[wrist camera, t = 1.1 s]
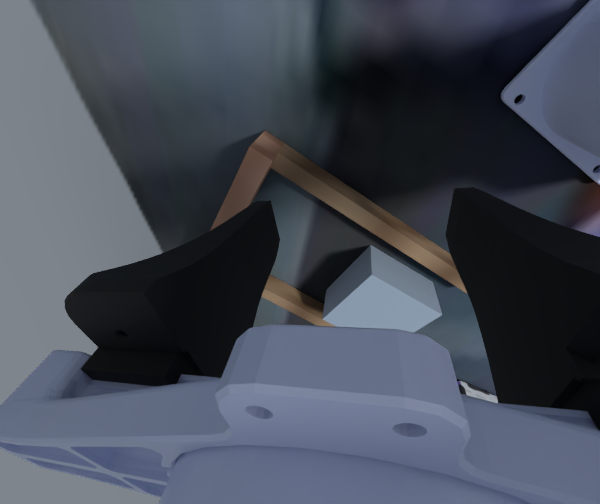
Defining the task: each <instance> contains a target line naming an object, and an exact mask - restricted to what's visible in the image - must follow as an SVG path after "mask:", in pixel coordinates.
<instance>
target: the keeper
mask: <svg viewBox="0 0 600 504" xmlns="http://www.w3.org/2000/svg"><path fill="white" fill-rule="evenodd" d="M441 315H442V312H441V309H440V305H439V302H438V298H437V295H436V292H435V288H434V285H433V282H432V281H430V280H428V279H427V278H425V277H423V276H422V275H420V274H418V273H416V272H415V271H413V270H411V269H410V268H408V267H406V266H405V265H403V264H401V263H400V262H398V261H396V260H395V259H393V258H391V257H390V256H388V255H386V254H385V253H383V252H381V251H380V250H378V249H376V248H375V247H373V246H371V245H370V246H369V247H368V248H367V249H366V250H365V251H364V252H363V253H362V254H361V255H360V256H359V257H358V258H357V259H356V260H355V261H354V262H353V263H352V264H351V265H350V266H349V267H348V268H347V269H346V270H345V271H344V272H343V273H342V274H341V275H340V276H339V277H338V278H337V279H336V280H335V281H334V282H333V283H332V284H331V285H330V286H329V287H328V289H327V290H326V296H325V303H324V311H323V318H322V319H323V320H325V321H326V322H328V323H330V324H332V325H334V326H336V327H356V328H381V329H398V330H403V331H408V332H413V333H414V332H415V331H417V330H419V329H420V328H422V327H423V326H425V325H427V324H428V323H430V322H432V321H433V320H435V319H436V318H438V317H440V316H441Z"/></svg>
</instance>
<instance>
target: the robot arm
mask: <svg viewBox="0 0 600 504" xmlns="http://www.w3.org/2000/svg"><path fill="white" fill-rule="evenodd" d="M520 94H522V99H521V100H520V101H519V102H518V103H514V100H515V98H516V97H517V96H518V95H520ZM501 100H502V101H503V102H504V103H505V104H506V105H507V106H509V107H510V108H511V109H512V110H513V111H514V112H515V113H517V114H518V115H519V116H520V117H521V118H522V119H524V120H525V121H526V122H527V123H528V124H529V125H530V126H532V127H533V128H534V129H535V130H536V131H537V132H539V133H540V134H541V135H542V136H543V137H544V138H545V139H547V140H548V141H549V142H550V143H551V144H552V145H553V146H555V147H556V148H557V149H558V150H559V151H560V152H562V153H563V154H564V155H565V156H566V157H567V158H568V159H570V160H571V161H572V162H573V163H574V164H575V165H576V166H578V167H579V168H580V169H581V170H582V171H583V172H585V173H586V174H587V175H588V176H589V177H590V178H591V179H593V180H594V181H595V182H596V183H598V184H600V166H599V167H598V168H597V169H596V170H594V171H593V169H594V168H595V167H596V166H598V165H600V0H590V1H589V2H588V3H587V4H586V5H585V6H584V7H583V8H582V9H581V10H580V11H579V12H578V13H577V14H576V15H575V16H574V17H573V18H572V19H571V20H570V21H569V22H568V23H567V24H566V25H565V26H564V27H563V28H562V29H561V30H560V31H559V33H558V34H557V35H556V36H555V37H554V38H553V39H552V40H551V41H550V42H549V43H548V44H547V45H546V46H545V47H544V48H543V49H542V50H541V51H540V52H539V53H538V54H537V55H536V56H535V57H534V58H533V59H532V60H531V61H530V62H529V63H528V64H527V65H526V66H525V67H524V68H523V69H522V70H521V71H520V72H519V74H518V75H517V76H516V77H515V78H514V79H513V80H512V81H511V82H510V83H509V84H508V85H507V86H506V87H505V88H504V89H503V91H502V93H501ZM446 238H447V242H448V246H449V250H450V254H451V257H452V259H453V262H454V264H455V266H456V269H457V271H458V273H459V275H460V278H461V280H462V282H463V284H464V287H465V289H466V291H467V293H468V296H469V298H470V300H471V303H472V305H473V308H474V311H475V314H476V317H477V321H478V324H479V327H480V331H481V334H482V338H483V342H484V345H485V349H486V353H487V357H488V360H489V365H490V369H491V373H492V377H493V382H494V386H495V390H496V395H497V400H498V403H494V402H490V401H487V400H483V399H479V398H475V397H471V396H468V395H464V394H460V390H459V387H458V383H457V379H456V376H455V372H454V369H453V365H452V361H451V358H450V354H449V351H448V350H447V349H445V348H444V347H442V346H441V345H439V344H438V343H437V342H435V341H434V340H432V339H431V338H429V337H428V336H425V335H422V334H417V333H413V332H408V331H403V330H398V329H381V328H356V327H332V326H307V325H283V324H272V325H265V326H259V327H253V324H254V320H255V316H256V312H257V308H258V305H259V302H260V299H261V296H262V293H263V291H264V288H265V286H266V283H267V280H268V278H269V275H270V273H271V270H272V267H273V265H274V262H275V259H276V256H277V252H278V247H279V242H280V238H279V234H278V230H277V225H276V221H275V217H274V213H273V209H272V205H271V201H257V202H255V203H253V204H251V205H250V206H248V207H246V208H245V209H243V210H242V211H240V212H239V213H237V214H236V215H234V216H233V217H231V218H230V219H228V220H227V221H225V222H224V223H222V224H221V225H219V226H217V227H216V228H214V229H212V230H211V231H209V232H207V233H206V234H204V235H202V236H200V237H198V238H196V239H194V240H192V241H190V242H188V243H186V244H184V245H182V246H179V247H177V248H174V249H172V250H170V251H167V252H165V253H162V254H160V255H157V256H154V257H151V258H148V259H145V260H142V261H139V262H135V263H132V264H129V265H125V266H121V267H117V268H113V269H109V270H105V271H101V272H97V273H93V274H91V275H90V276H89V277H88V278H86V279H85V280H84V281H83V282H82V283H81V284H80V285H79V286H78V287H77V288H75V289H74V290H73V291H72V292H71V293H70V294H69V295H68V296H67V297H66V299H65V309H66V312H67V314H68V315H69V317H70V318H71V320H72V321H73V322H74V323H75V324H76V325H77V326H78V327H79V328H80V329H81V330H82V331H83V332H84V333H85V334H86V335H87V336H88V337H89V338H90V339H91V340H92V341H93V342H94V343H95V344H96V345H97V346H98V349H97V350H96V351H95V352H94V353H93V355H92V356H91V355H89V354H87V353H83V352H78V351H65V350H54V351H52V352H51V354H50V355H48V357H47V358H46V359H45V360H44V361H43V362H42V363H41V364H40V365H39V366H38V367H37V368H36V369H35V370H34V371H33V372H32V373H31V374H30V375H29V376H28V377H27V379H25V381H24V382H23V383H22V384H21V385H20V386H19V387H18V388H17V389H16V390H15V391H14V392H13V393H12V394H11V395H10V396H9V397H8V398H7V399H6V400H5V401H4V402H3V404H1V405H0V449H3V450H5V451H7V452H9V453H11V454H13V455H16V456H17V457H20V458H22V459H24V460H26V461H28V462H31V463H32V464H35V465H37V466H39V467H41V468H44V469H49V470H54V471H58V472H63V473H68V474H72V475H76V476H80V477H84V478H88V479H92V480H96V481H100V482H104V483H108V484H111V485H115V486H119V487H123V488H126V489H130V490H134V491H137V492H141V493H145V494H149V495H153V496H156V497H160V498H161V499H160V501H159V504H600V237H597V236H594V235H590V234H587V233H583V232H580V231H577V230H574V229H571V228H568V227H565V226H562V225H559V224H556V223H553V222H551V221H548V220H546V219H543V218H541V217H538V216H536V215H533V214H531V213H529V212H526V211H524V210H522V209H520V208H517V207H515V206H513V205H511V204H509V203H507V202H505V201H503V200H500V199H498V198H496V197H494V196H492V195H490V194H488V193H486V192H484V191H481V190H479V189H476V188H473V187H472V188H457V189H454V193H453V199H452V204H451V209H450V214H449V220H448V225H447V230H446Z"/></svg>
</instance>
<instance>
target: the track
mask: <svg viewBox="0 0 600 504" xmlns="http://www.w3.org/2000/svg"><path fill="white" fill-rule="evenodd" d="M271 168H272V169H273V170H275V171H276V172H278V173H280V174H281V175H283V176H284V177H286V178H287V179H289V180H291V181H292V182H294V183H295V184H297V185H298V186H300V187H301V188H303V189H305V190H306V191H308V192H309V193H311V194H312V195H314V196H316V197H317V198H319V199H320V200H322V201H323V202H325V203H326V204H328V205H330V206H331V207H333V208H334V209H336V210H337V211H339V212H341V213H342V214H344V215H345V216H347V217H348V218H350V219H351V220H353V221H355V222H356V223H358V224H359V225H361V226H362V227H364V228H366V229H367V230H369V231H370V232H372V233H373V234H375V235H376V236H378V237H380V238H381V239H383V240H384V241H386V242H387V243H389V244H391V245H392V246H394V247H395V248H397V249H398V250H400V251H401V252H403V253H405V254H406V255H408V256H409V257H411V258H412V259H414V260H416V261H417V262H419V263H420V264H422V265H423V266H425V267H427V268H428V269H430V270H431V271H433V272H434V273H436V274H437V275H439V276H441V277H442V278H444V279H445V280H447V281H448V282H450V283H452V284H453V285H455V286H456V287H458V288H459V289H461V290H462V291H464V292H466V293H467V291H466V289H465V287H464V284H463V282H462V280H461V278H460V275H459V273H458V271H457V269H456V266H455V264H454V262H453V259H452V257H451V254H449V253H448V252H446V251H445V250H443V249H442V248H440V247H439V246H438V245H436V244H435V243H433V242H432V241H430V240H429V239H427V238H426V237H424V236H423V235H421V234H420V233H418V232H417V231H415V230H414V229H412V228H411V227H409V226H408V225H406V224H405V223H403V222H402V221H400V220H399V219H397V218H396V217H394V216H393V215H391V214H390V213H388V212H387V211H385V210H384V209H382V208H381V207H379V206H378V205H376V204H375V203H373V202H372V201H370V200H369V199H367V198H366V197H364V196H363V195H361V194H360V193H358V192H357V191H355V190H354V189H352V188H351V187H349V186H348V185H346V184H345V183H343V182H342V181H340V180H339V179H337V178H336V177H334V176H333V175H331V174H330V173H328V172H327V171H325V170H324V169H322V168H321V167H319V166H318V165H316V164H315V163H313V162H312V161H310V160H309V159H307V158H306V157H304V156H303V155H301V154H300V153H298V152H297V151H295V150H294V149H292V148H291V147H289V146H288V145H286V144H285V143H283V142H282V141H281V140H279V139H278V138H276V137H275V136H273V135H272V134H270V133H269V132H267V131H266V130H265V131H264V132H263V133H262V134H261V135H260V136H259V137H258V138H257V139H256V140H255V141H254V142H253V143H252V144H251V145H250V147H249V149H248V151H247V153H246V155H245V157H244V159H243V162H242V164H241V166H240V168H239V170H238V172H237V174H236V176H235V179H234V181H233V183H232V185H231V187H230V189H229V191H228V193H227V196H226V198H225V200H224V202H223V204H222V206H221V208H220V210H219V213H218V215H217V217H216V219H215V221H214V223H213V225H212V227H211V230H212V229H214V228H216V227H217V226H219V225H221V224H222V223H224V222H225V221H227V220H228V219H230V218H231V217H233V216H234V215H236V214H237V213H239V212H240V211H242V210H243V209H245V208H246V207H248V206H250V205H251V203H252V201H253V200H254V198H255V196H256V194H257V192H258V191H259V189H260V187H261V185H262V183H263V182H264V180H265V178H266V176H267V174H268V173H269V171H270V169H271ZM211 230H210V231H211ZM467 294H468V293H467ZM262 297H264V298H266V299H267V300H269V301H271V302H273V303H275V304H277V305H279V306H281V307H283V308H285V309H286V310H288V311H290V312H292V313H294V314H296V315H298V316H300V317H302V318H304V319H305V320H307V321H309V322H311V323H313V324H315V325H317V326H332V327H336V326H334V325H332V324H330V323H328V322H326V321H325V320H323V319H322V318H323V311H324V304H323V303H321V302H319V301H317V300H315V299H314V298H312V297H310V296H308V295H306V294H305V293H303V292H301V291H299V290H297V289H295V288H294V287H292V286H290V285H288V284H286V283H284V282H283V281H281V280H279V279H277V278H275V277H273V276H272V275H269V278H268V280H267V283H266V286H265V288H264V291H263V293H262Z"/></svg>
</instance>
